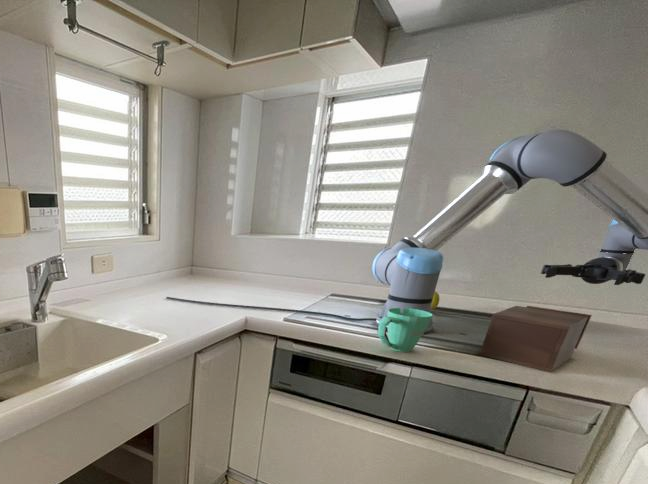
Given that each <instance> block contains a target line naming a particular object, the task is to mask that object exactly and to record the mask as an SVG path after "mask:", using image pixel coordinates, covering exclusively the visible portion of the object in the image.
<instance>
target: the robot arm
mask: <svg viewBox="0 0 648 484" xmlns="http://www.w3.org/2000/svg"><path fill="white" fill-rule="evenodd" d="M607 159H608V154H607V152H605V151H604V150H603V149H602V148H600V147H599V146H598V145H597V144H595V143H594V142H593V141H591V140H589V139H588V138H586V137H585V136H583V135H581V134H579V133H577V132H574V131H571V130H568V129H551V130H546V131H543V132H538V133H533V134H529V135H527V134H526V135H522V136H521V135H520V136H518V137H515V138H512V139H510V140H508V141H507V142H504V143H503V144H501V145H499V147H497V148H496V149H495V151H494V152H493V153H492V155H491V156H490V158H489V162H488V163H487V164H486V165H484V166H483V168H482V169H481V170H482V171H481V176H480V177H479V178H478V179H476V180H475V181H474V182H473V183H471V184H470V185H469V187H467V188H465V190H464V191H463V192H461V193H460V194H459V195H458V196H457V197H456V198H455V199H454V200H452V201H451V202H450V203H448V205H446V206H445V207H444V208H443V209H442V210H440V212H438V213H437V214H436V215H435V216H434V217H432V219H430V220H429V221H428V222H427V223H425V225H423V226H422V227H421V228H420V229H419V230H418V231H417V232H416V233H415V234H413V235H412V236H407V237H403V238H401V239H400V240H399V241H398V242H397V243H395V245H393V246H391V247H387V248H385V249H383V250H382V251H380V252H379V253H378V254H377V255H376V256H375V258H373V259H374V260H373V262H372V267H371V270H372V274H373V277H374V278H375V279H376V280H377V281H379V283H381V284H383V285H385V286H389V291H388V295H387V298H386V302H385V303H384V305H383V306H382V308H381V310H380V311H379V313H378V314H377V317H375V318H374V317H373V318H371V317H366V318H365V317H361V318H359V317H357V318H356V317H347V316H344V315H339V314H333V313H327V312H319V311H311V310H309V311H308V310H300V309H290V308H282V307H281V308H280V307H267V306H255V305H243V304H233V303H231V304H230V303H219V302H211V301H200V300H194V299H193V300H191V299H185V298H177V297H171V296H166V298H165V299H166V300H172V301H173V300H174V301H179V302H186V303H194V304H203V305H211V306H221V307H233V308H245V309H256V310H270V311H278V312H279V311H280V312H291V313H299V314H300V313H301V314H309V315H310V314H311V315H319V316H327V317H334V318H339V319H342V320H347V321H353V322H354V321H355V322H363V321H364V322H365V321H367V322H368V321H369V322H372V321H373V322H375V325H376V327H378V325H379V322H380V321H381V319H382V318H384V317H388V310H389V309H392V308H400V312H401V313H402V312H403V310H404V309H405V308H410V309H417V310H423V311H426V312H429V313H431V314H432V315H433V316H432V319H431V321H430V322H429V324H428V326H427V328H426V330H425V332H424V333H423V334H427V333H430V332H432V329H433V323H434V322H433V321H434V320H433V319H434V313H433V311H432V310H431V303H432V299H433V296H434V292H435V291H436V288H437V286H438V281H439V278H440V274H441V270H442V269H443V263H444V255H443V254H442V253H441V252H440V251H439V250H440V249H441V248H443V246H445V245H446V244H447V243H448V242H449V241H451V240H452V239H453V238H454V237H456V236H457V235H458V234H459V233H461V232H462V231H463V230H464V229H465V228H466V227H467V226H469V225H470V224H471V223H472V222H474V220H476V219H477V218H479V216H481V215H482V214H483V213H485V211H487V210H488V209H490V207H492V206H493V205H494V204H495V203H496V202H497V201H499V200H500V199H501V198H502V197H503V196H505V195H512V194H515V193H516V192H517V191H519V190H520V189H521V188H522V187H523V186H525V185H526V184H527V183H528V182H531V180H536V179H546V180H550V181H554V182H556V183H558V184H559V185H560V186H561V187H563V188H568V187H572V189H574V190H575V191H576V192H578V193H579V194H580V195H582V197H584V198H586V199H587V200H588V201H590V202H591V203H592V204H593V205H594V206H596V207H597V208H598V209H600V210H601V211H602V212H604V213H605V214H606V215H608V216H609V217H610V218H611V219H613V221H612V220H611V221H612V223H611V222H610V223H611V225H610V224H609V225H610V226H609V225H608V226H609V229H608V232H607V235H606V239H605V241H604V244H603V247H602V249H601V251H600V253H599V256H598V258H596V259H595V258H593V259H590V260H588V261H586V262H585V263H584V264H576V265H574V266H573V265H572V264H571V263H568V264H543V266H542V269H541V271H540V274H541V275H545V278H547V279H549V278H553V277H556V276H571V277H573V278H581V280H582V281H583V282H585V283H587V284H590V285H601V284H604V283H607V282H610V281H614V283H613V285H614V286H619V285H623V284H624V283H625V284H631V283H633V284H636V285H641V284H642V283H643V281H644V279H645V277H646V275H647V274H646V273H643V272H639V271H637V270H636V269H635V270H634V269H632V268H631V269H630V268H629V269H628V270H626V268H627V266H628V264H629V262H630V263H631V261H630V259H631V260H632V258H633V256H634V254H635V252H634V250H635V249H636V250H648V193H647V192H645V191H644V189H642V188H641V187H640V186H639V185H637V184H636V183H634V182H633V181H632V180H631V179H629V178H628V177H627V176H626V175H624V174H623V172H621V171H619V170H618V169H617V168H616V167H615V166H613V165H612V164H611V163H609V162H608V161H607ZM636 250H635V251H636ZM606 252H608V253H606ZM623 253H626V254H623ZM633 253H634V254H633ZM632 255H633V256H632ZM631 257H632V258H631ZM386 331H388V325H387V330H386Z"/></svg>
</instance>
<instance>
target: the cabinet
mask: <svg viewBox="0 0 648 484" xmlns="http://www.w3.org/2000/svg"><path fill="white" fill-rule="evenodd" d="M587 318H588V316H581V315H575V314H568V313H561V312H555V311H548V310H541V309H534V308H528V307H527V306H520V305H513V306H511V307H508V308H506V309H503V310H500V311H496V312H495V313H494V312H493V313H492V317H491V319H490V322H489V326H488V328H487V331H486V334H485V337H484V339H483V343H482V345H481V349H480V352H479V354H478V355H479V356H482V357H486V358H489V359H494V360H498V361H503V362H508V363H510V364H515V365H519V366H524V367H528V368H533V369H536V370H540V371H545V372H552V371H554V370H555V369H557V368H559V367H560V366H561V365H563V364H564V363H566V362H567V361H569V360H570V359H571V357H572V355H573V353H574V350H575V349H574V348H575V346H576V344H577V341H578V339H579V337H580V335H581V332H582V330H583V328H584V325H585V323H586V321H587Z"/></svg>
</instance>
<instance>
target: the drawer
mask: <svg viewBox="0 0 648 484" xmlns="http://www.w3.org/2000/svg"><path fill="white" fill-rule="evenodd" d="M526 307H528V308H534V309H541V310H548V311H555V312H561V313H568V314H575V315H581V316H588V318H587V321H586V323H585V325H584V328H583V330H582V332H581V335H580V337H579V339H578V341H577V344H576V346H575V348H574V350H577V349H579V346H580V344H581V341H582V339H583V337H584V334H585V333H586V330H587V327H588V325H589V323H590V321H591V318H592V317H593V315H592V314H588V313H579V312H575V311H567V310H560V309H553V308H547V307H540V306H535V305H534V306H533V305H526Z"/></svg>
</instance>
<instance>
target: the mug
mask: <svg viewBox="0 0 648 484" xmlns="http://www.w3.org/2000/svg"><path fill="white" fill-rule="evenodd" d="M432 316H433V317H434V314H433V315H432V314H431V313H429V312H426V311H423V310H417V309H410V308H405V309H404V310H403V312H402V313H401V312H400V308H392V309H389V310H388V317H384V318H382V319H381V321H380V322H379V325H378V326H377V331H376V333H377V335H378V337H379V339H380V341H381V343H382V344H383V345H385V346H387V347H389V348H390V349H391V350H393V351H395V352H400V353H410V352H412V351H413V349H414V348H415V347H416V345H417V344H418V343H419V341H420V339H421V338H422V337H423V335H424V334H425V333H424V332H425V330H426V328H427V326H428V324H429V322H430V321H431V319H432V320H433V318H432ZM387 325H388V330H387Z"/></svg>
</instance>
